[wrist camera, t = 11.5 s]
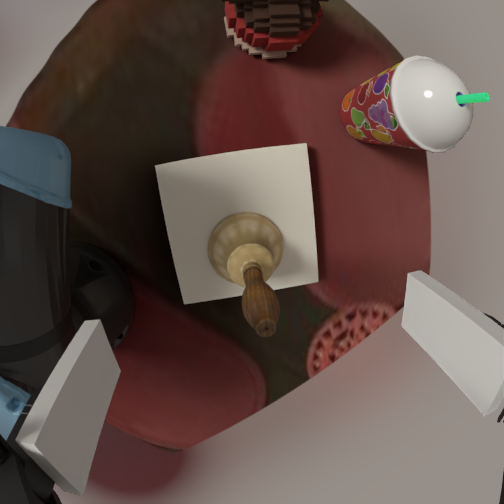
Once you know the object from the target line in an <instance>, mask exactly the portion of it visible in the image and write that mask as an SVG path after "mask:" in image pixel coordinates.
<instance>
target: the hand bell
mask: <svg viewBox="0 0 504 504" xmlns="http://www.w3.org/2000/svg"><path fill="white" fill-rule="evenodd" d="M283 250H284V244H283V239H282V236H281V233H280V231H279V229H278V228H277V226H276V225H275V224H274V223H273V222H272V221H271V220H270V219H268V218H267V217H265V216H263V215H260V214H258V213H253V212H241V213H236V214H233V215H230V216H228V217H226V218H225V219H223V220H222V221H221V222H220V223H219V224H218V225H217V226H216V227H215V228H214V230H213V232H212V233H211V236H210V238H209V242H208V257H209V260H210V263H211V265H212V267H213V268H214V270H215V271H216V272H217V274H218V275H220V276H221V277H222V278H224V279H225V280H227V281H229V282H232V283H235V284H238V285H240V286H242V287H245V289H244V292H243V295H242V310H243V313H244V316H245V318H246V320H247V321H248V323H249V324H250V325H251V326H252V327H253V328H254V329H255V330H256V332H257V334H258V335H260V336H262V337H269V336H272V335H273V334H274V333H275V332H276V328H277V322H278V319H279V314H280V306H279V301H278V299H277V296H276V294H275V292H274V291H273V289H272V288H271V287H270V286H269V285H268V284H267V283H265V282H266V281H267V280H268V279H269V278H270V277H271V275H272V273H273V272H274V271H275V270H276V269H277V267H278V266H279V264H280V262H281V259H282V256H283Z"/></svg>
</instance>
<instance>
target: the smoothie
mask: <svg viewBox="0 0 504 504" xmlns="http://www.w3.org/2000/svg"><path fill="white" fill-rule="evenodd" d="M489 100H490V97H489V95H488V93H475V94H470V92H469V90H468V88H467V86H466V84H465V83H464V81H463V80H462V79H461V77H460V76H459V75H458V74H456V73H455V72H454V71H453V70H452V69H450V68H449V67H447V66H445V65H444V64H442V63H440V62H437V61H435V60H433V59H431V58H429V57H424V56H417V55H416V56H412V57H409V58H405V59H404V60H403V61H402V62H401V63H398V64H396V65H395V66H393V67H391V68H389V69H387V70H385V71H384V72H382V73H380V74H378V75H376V76H375V77H373V78H371V79H369V80H368V81H366V82H364V83H362V84H361V85H359V86H357V87H356V88H354V89H352V90H351V91H349V92H348V93H347V94H346V95H345V96H344V98H343V100H342V103H341V109H340V115H341V119H342V123H343V125H344V127H345V129H346V130H347V131H348V133H349V134H350V135H351V136H352V137H354V138H355V139H357V140H359V141H360V142H365V143H372V144H381V145H390V146H398V147H405V148H412V149H419V150H425V151H430V152H433V153H439V152H446V151H448V150H449V149H451V148H453V147H454V146H455V145H456V143H457V142H458V141H459V140H461V139H462V138H463V136H464V135H465V134H466V132H467V131H468V129H469V128H470V125H471V122H472V118H473V103H474V102H488V101H489Z"/></svg>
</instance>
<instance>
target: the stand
mask: <svg viewBox="0 0 504 504" xmlns="http://www.w3.org/2000/svg"><path fill="white" fill-rule="evenodd" d="M155 169H156V175H157V180H158V186H159V192H160V197H161V202H162V208H163V213H164V218H165V223H166V228H167V233H168V237H169V242H170V247H171V251H172V256H173V260H174V265H175V269H176V273H177V277H178V281H179V286H180V290H181V294H182V298H183V302H184V304H190V303H197V302H204V301H210V300H217V299H223V298H229V297H235V296H242V295H243V292H244V289H245V287H242V286H240V285H238V284H235V283H232V282H229V281H227V280H225V279H224V278H222V277H221V276H220V275H218V274H217V272H216V271H215V270H214V268H213V267H212V265H211V263H210V260H209V257H208V242H209V238H210V236H211V233H212V232H213V230H214V228H215V227H216V226H217V225H218V224H219V223H220V222H221V221H222V220H223V219H225V218H226V217H228V216H230V215H233V214H236V213H241V212H253V213H258V214H260V215H263V216H265V217H267V218H268V219H270V220H271V221H272V222H273V223H274V224H275V225H276V226H277V228H278V229H279V231H280V233H281V236H282V239H283V244H284V250H283V256H282V259H281V262H280V264H279V266H278V267H277V269H276V270H275V271H274V272H273V273H272V275H271V277H270V278H269V279H268V280H267V281H266V282H265V283H267V284H268V285H269V286H270V287H271V288H272V289H273V290H277V289H282V288H288V287H293V286H299V285H304V284H310V283H315V282H318V264H317V248H316V234H315V221H314V209H313V198H312V188H311V178H310V169H309V160H308V151H307V143H305V144H294V145H283V146H274V147H265V148H257V149H249V150H242V151H235V152H228V153H221V154H215V155H209V156H203V157H197V158H191V159H186V160H180V161H175V162H170V163H165V164H160V165H155Z"/></svg>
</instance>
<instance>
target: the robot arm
mask: <svg viewBox="0 0 504 504" xmlns="http://www.w3.org/2000/svg"><path fill="white" fill-rule="evenodd" d="M70 178H71V155H70V152H69V149H68V148H67V146H66V145H65V144H64V143H63V142H62V141H61V140H59V139H58V138H56V137H53V136H50V135H46V134H42V133H37V132H33V131H28V130H22V129H17V128H11V127H4V126H0V504H62V503H61V501H60V499H59V497H58V495H57V494H56V492H55V491H54V490H53V487H54V484H55V483H56V484H57V485H58V486H59V487H60V488H61V489H62V490H63V491H65V492H69V493H74V494H78V495H84V491H85V487H86V483H87V479H88V475H89V471H90V468H91V464H92V460H93V457H94V453H95V450H96V446H97V443H98V439H99V436H100V433H101V429H102V426H103V423H104V420H105V417H106V413H107V410H108V407H109V404H110V401H111V398H112V395H113V392H114V389H115V386H116V384H117V381H118V378H119V375H120V372H121V370H120V368H119V366H118V363H117V361H116V359H115V356H114V354H113V351H112V349H113V348H115V347H116V346H117V345H118V344H120V343H121V341H122V340H123V339H124V338H125V336H126V335H127V333H128V331H129V328H130V326H131V324H132V321H133V318H134V313H135V300H134V294H133V290H132V287H131V285H130V282H129V280H128V278H127V276H126V275H125V273H124V271H123V270H122V269H121V267H120V266H119V265H118V264H117V263H116V261H115V260H114V259H113V258H111V257H110V256H109V255H108V254H107V253H105V252H104V251H102V250H101V249H99V248H97V247H95V246H93V245H90V244H87V243H83V242H69V211H70V208H71V207H72V201H71V199H70ZM401 326H402V327H403V328H404V329H405V330H406V331H407V332H408V334H409V335H411V337H412V338H413V339H414V340H415V341H416V342H417V343H418V344H419V345H420V346H421V347H422V348H423V349H424V350H425V351H426V352H427V353H428V354H429V356H430V357H432V359H433V360H434V361H435V362H436V363H437V364H438V365H439V366H440V367H441V368H442V369H443V371H444V372H445V373H446V374H447V375H448V376H449V377H450V378H451V379H452V380H453V382H454V383H455V384H456V385H457V386H458V387H459V388H460V389H461V390H462V391H463V393H464V394H465V395H466V396H467V397H468V398H469V400H470V401H471V402H472V403H473V404H474V405H475V406H476V408H477V409H478V410H479V411H480V412H481V413H482V414H483V416H484V417H485V416H487V415H488V414H490V413H491V412H493V411H494V410H496V409H497V408H498V407H499V405H500V403H501V401H502V399H503V397H504V325H503V324H502V325H501V323H500V322H499V321H498V320H496V319H495V318H494V317H492V316H489V315H487V314H485V313H482V312H480V311H479V310H478V309H477V308H475V307H474V306H472V305H471V304H469V303H468V302H467V301H465V300H464V299H463V298H461V297H460V296H458V295H457V294H455V293H454V292H452V291H451V290H450V289H448V288H447V287H445V286H444V285H442V284H441V283H439V282H438V281H436V280H435V279H433V278H432V277H430V276H429V275H427V274H426V273H424V272H423V271H421V270H420V271H416V272H411V273H408V276H407V286H406V295H405V303H404V311H403V318H402V324H401ZM503 416H504V409H503V411H502V412H501V414H500V416H499V417H498V421H497V422H500V421H501V419H502V418H503ZM503 422H504V421H503ZM499 504H504V473H503V482H502V490H501V497H500V503H499Z"/></svg>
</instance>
